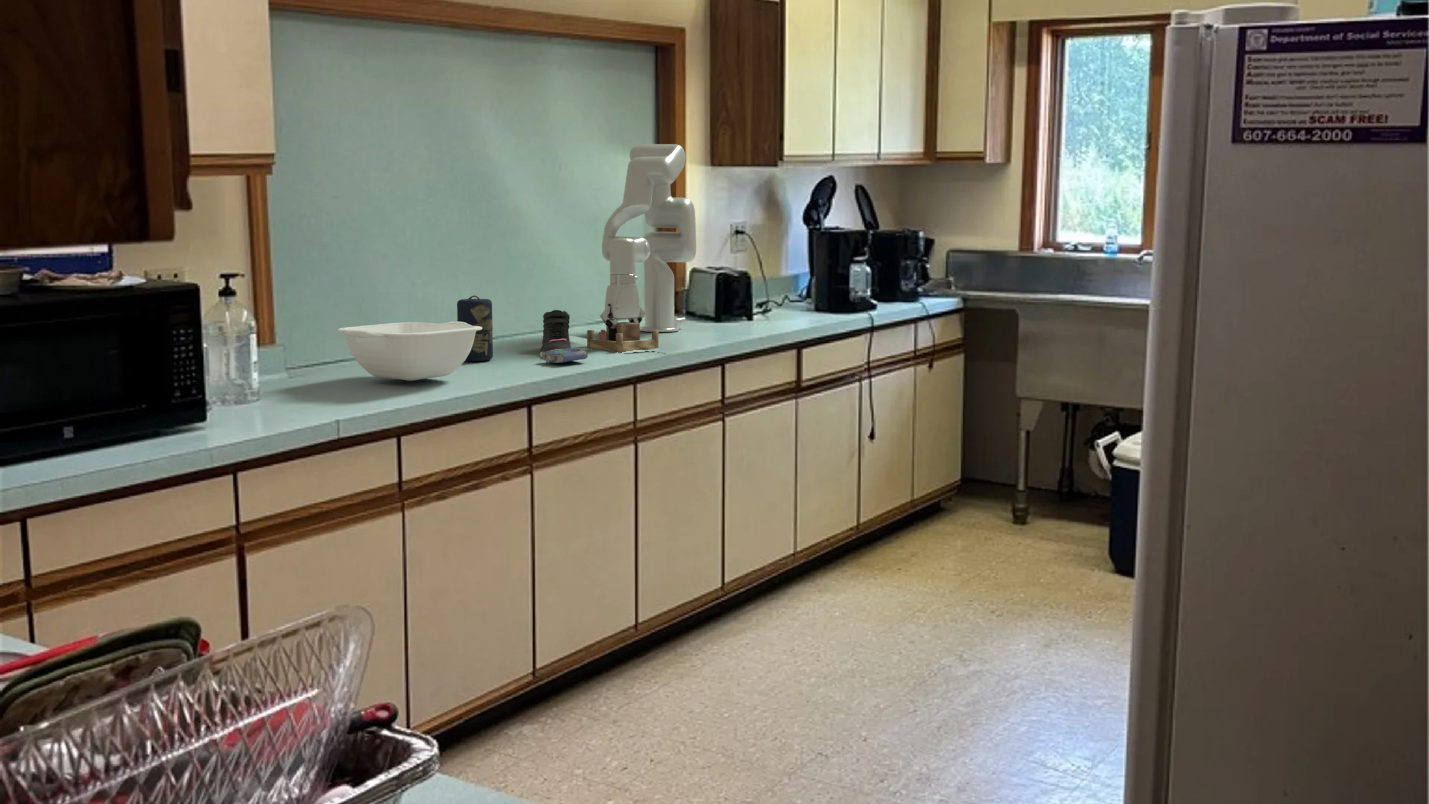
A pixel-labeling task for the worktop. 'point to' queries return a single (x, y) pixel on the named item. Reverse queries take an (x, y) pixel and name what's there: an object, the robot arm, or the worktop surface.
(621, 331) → the seat block
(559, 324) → the sneaker
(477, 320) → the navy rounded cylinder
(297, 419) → the worktop surface
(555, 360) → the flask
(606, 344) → the frame
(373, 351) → the white bowl
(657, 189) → the robot arm
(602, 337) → the rail
